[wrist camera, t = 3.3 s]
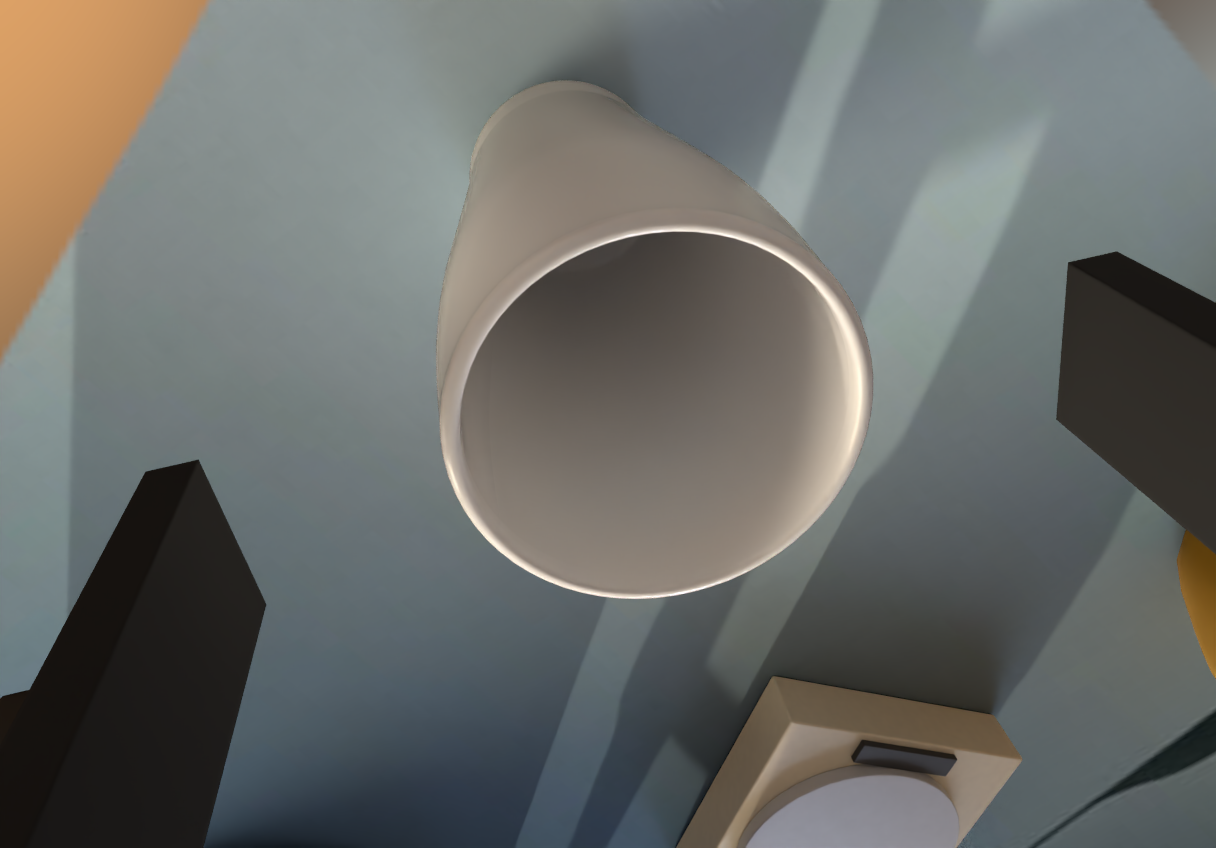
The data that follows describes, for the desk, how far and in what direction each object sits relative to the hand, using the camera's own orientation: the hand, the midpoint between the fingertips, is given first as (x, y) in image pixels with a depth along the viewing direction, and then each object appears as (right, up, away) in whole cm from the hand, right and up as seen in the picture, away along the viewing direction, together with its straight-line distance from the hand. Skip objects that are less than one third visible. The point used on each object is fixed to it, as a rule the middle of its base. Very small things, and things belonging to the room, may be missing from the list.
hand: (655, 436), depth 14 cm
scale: (+9, -16, +28) cm, 33 cm away
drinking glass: (-2, +7, +13) cm, 15 cm away
